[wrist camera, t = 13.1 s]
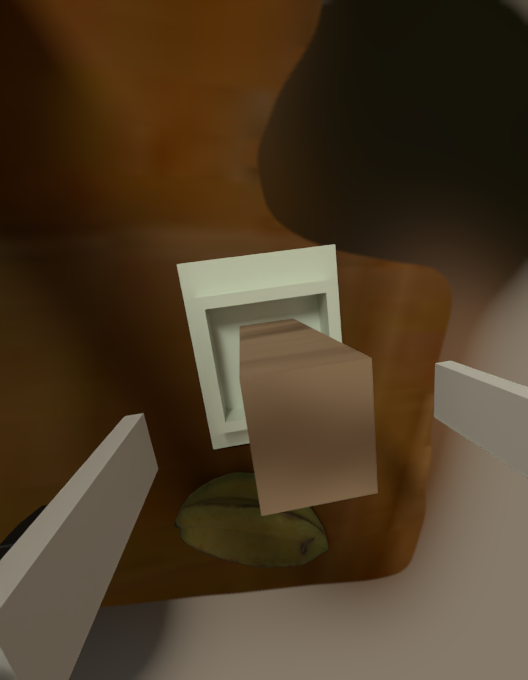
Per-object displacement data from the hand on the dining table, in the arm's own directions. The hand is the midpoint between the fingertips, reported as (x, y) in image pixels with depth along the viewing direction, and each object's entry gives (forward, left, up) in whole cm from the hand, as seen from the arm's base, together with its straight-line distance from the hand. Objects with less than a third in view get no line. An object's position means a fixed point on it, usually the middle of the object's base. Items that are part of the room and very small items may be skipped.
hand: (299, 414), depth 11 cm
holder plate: (0, 0, -13) cm, 13 cm away
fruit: (+16, -4, -14) cm, 22 cm away
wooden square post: (0, 0, -13) cm, 13 cm away
